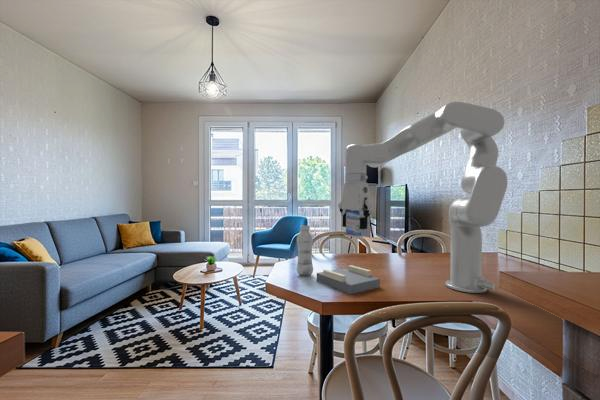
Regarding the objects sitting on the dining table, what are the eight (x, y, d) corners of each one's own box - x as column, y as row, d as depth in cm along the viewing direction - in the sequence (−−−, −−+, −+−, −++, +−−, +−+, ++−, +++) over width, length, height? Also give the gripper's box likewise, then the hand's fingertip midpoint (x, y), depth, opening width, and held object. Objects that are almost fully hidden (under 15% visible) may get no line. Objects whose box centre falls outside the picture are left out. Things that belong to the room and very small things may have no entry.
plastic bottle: (313, 277, 111) (313, 226, 111) (296, 277, 112) (296, 226, 112) (312, 273, 118) (313, 225, 118) (296, 273, 118) (297, 225, 118)
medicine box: (345, 234, 106) (345, 210, 106) (353, 233, 108) (354, 210, 108) (361, 236, 99) (361, 211, 99) (370, 235, 102) (370, 211, 102)
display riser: (379, 287, 100) (379, 272, 100) (350, 294, 92) (351, 278, 92) (343, 275, 115) (344, 263, 115) (316, 281, 107) (316, 267, 107)
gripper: (381, 178, 98) (380, 229, 98) (346, 180, 112) (345, 225, 112) (366, 177, 94) (365, 230, 94) (331, 179, 108) (330, 226, 108)
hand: (354, 227), depth 103 cm, fingers closed on medicine box, 8 cm apart
